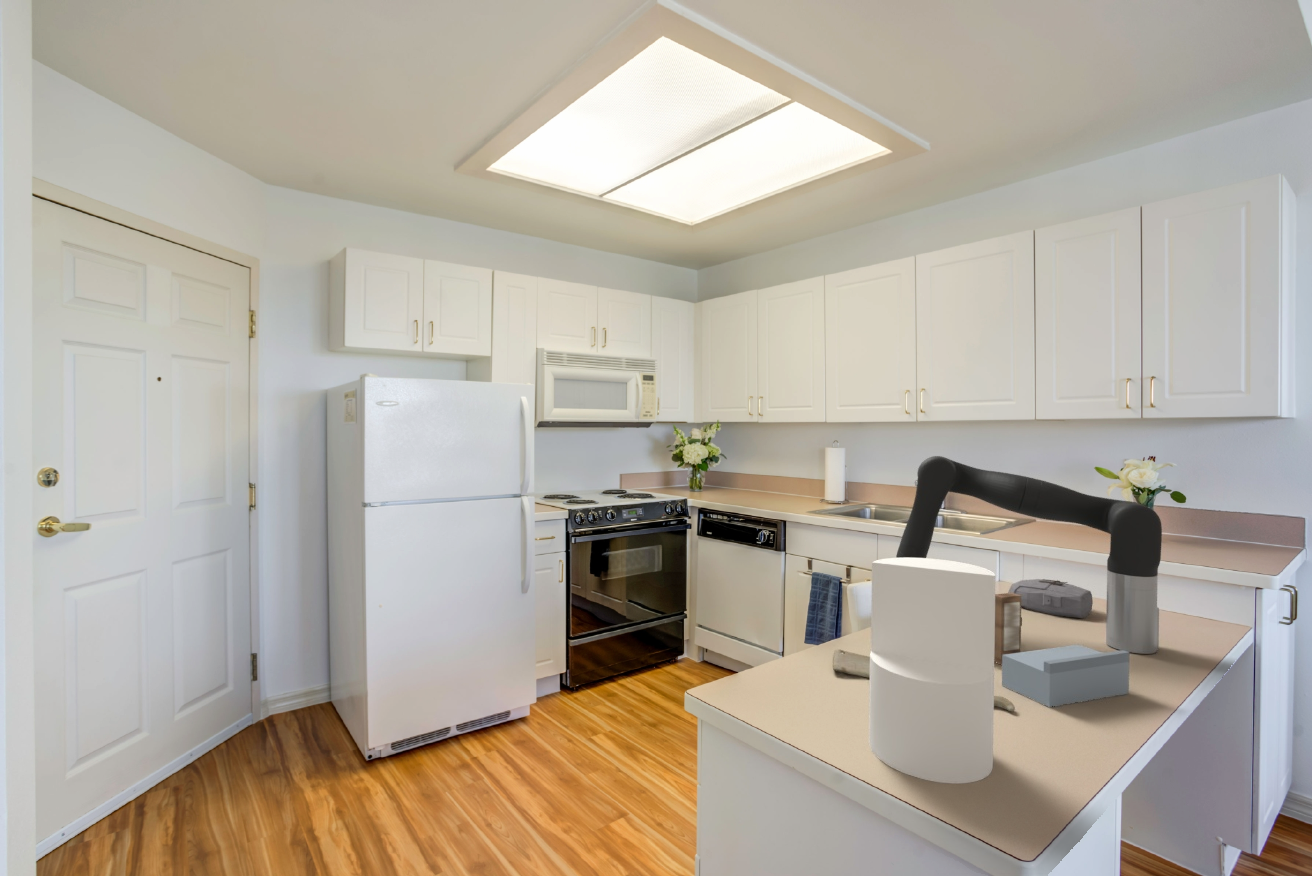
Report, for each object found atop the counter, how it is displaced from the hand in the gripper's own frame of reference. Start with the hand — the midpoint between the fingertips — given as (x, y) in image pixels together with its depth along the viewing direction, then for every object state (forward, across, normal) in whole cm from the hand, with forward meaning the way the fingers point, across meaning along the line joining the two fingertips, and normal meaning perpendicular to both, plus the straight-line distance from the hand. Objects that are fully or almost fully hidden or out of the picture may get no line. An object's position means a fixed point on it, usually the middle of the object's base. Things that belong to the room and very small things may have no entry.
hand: (1005, 623), depth 134 cm
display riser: (+15, -2, +8) cm, 17 cm away
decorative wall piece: (0, -25, +9) cm, 27 cm away
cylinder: (+26, -44, +8) cm, 52 cm away
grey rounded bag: (-28, +46, +8) cm, 54 cm away
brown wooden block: (0, 0, +8) cm, 8 cm away
